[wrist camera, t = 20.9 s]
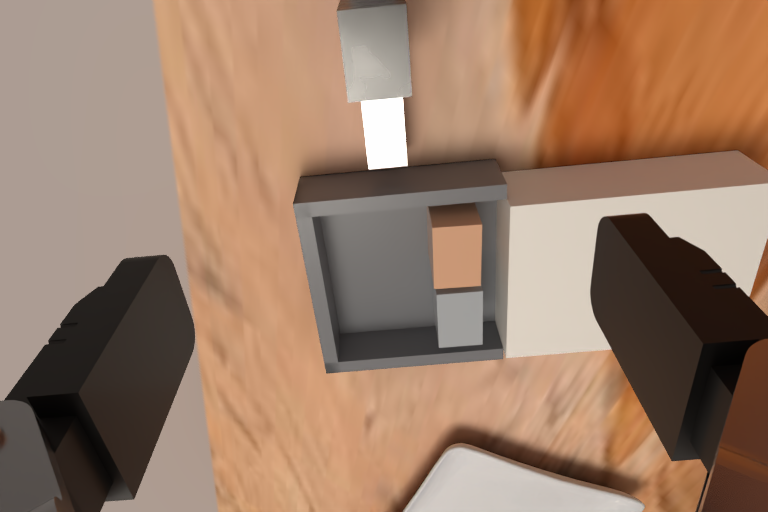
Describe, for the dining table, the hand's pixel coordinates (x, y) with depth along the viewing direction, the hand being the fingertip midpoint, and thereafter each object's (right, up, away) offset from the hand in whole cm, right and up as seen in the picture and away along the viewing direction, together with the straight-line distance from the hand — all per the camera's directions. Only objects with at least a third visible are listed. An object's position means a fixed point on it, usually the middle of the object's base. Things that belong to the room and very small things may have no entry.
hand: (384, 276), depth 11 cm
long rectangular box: (+16, +2, +30) cm, 34 cm away
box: (+2, 0, +31) cm, 31 cm away
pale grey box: (+7, -3, +29) cm, 30 cm away
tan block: (+6, +2, +26) cm, 27 cm away
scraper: (-1, +14, +22) cm, 26 cm away
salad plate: (+11, -26, +48) cm, 55 cm away
